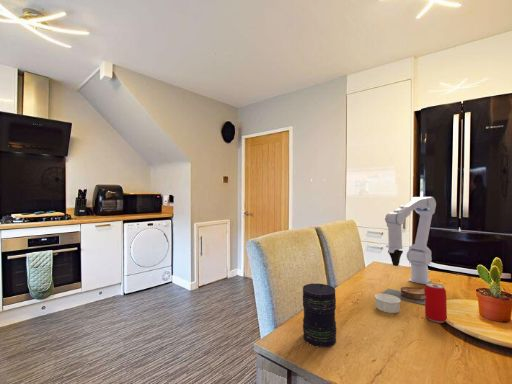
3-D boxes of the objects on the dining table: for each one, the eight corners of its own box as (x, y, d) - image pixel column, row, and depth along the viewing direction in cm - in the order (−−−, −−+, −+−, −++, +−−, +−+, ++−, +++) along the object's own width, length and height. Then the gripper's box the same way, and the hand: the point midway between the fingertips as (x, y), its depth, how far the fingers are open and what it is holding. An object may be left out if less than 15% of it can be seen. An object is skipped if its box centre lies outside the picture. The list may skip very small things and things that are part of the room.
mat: (388, 289, 119) (388, 288, 119) (439, 300, 105) (439, 299, 105) (380, 294, 112) (380, 293, 112) (435, 307, 98) (435, 307, 98)
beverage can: (443, 317, 90) (442, 283, 91) (450, 325, 84) (449, 288, 85) (422, 314, 92) (422, 281, 93) (428, 322, 86) (427, 286, 87)
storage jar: (331, 352, 70) (330, 297, 70) (297, 341, 75) (297, 290, 75) (340, 335, 78) (339, 286, 79) (309, 327, 83) (309, 281, 84)
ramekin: (399, 306, 99) (399, 295, 100) (402, 316, 91) (401, 303, 92) (374, 303, 103) (374, 292, 103) (375, 311, 95) (374, 299, 95)
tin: (432, 287, 112) (444, 293, 104) (432, 295, 112) (445, 301, 104) (397, 286, 114) (406, 291, 105) (397, 293, 113) (406, 299, 105)
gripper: (390, 235, 130) (391, 261, 130) (381, 238, 120) (382, 267, 119) (405, 236, 126) (406, 263, 125) (397, 239, 115) (398, 269, 115)
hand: (395, 265), depth 122 cm, fingers closed
